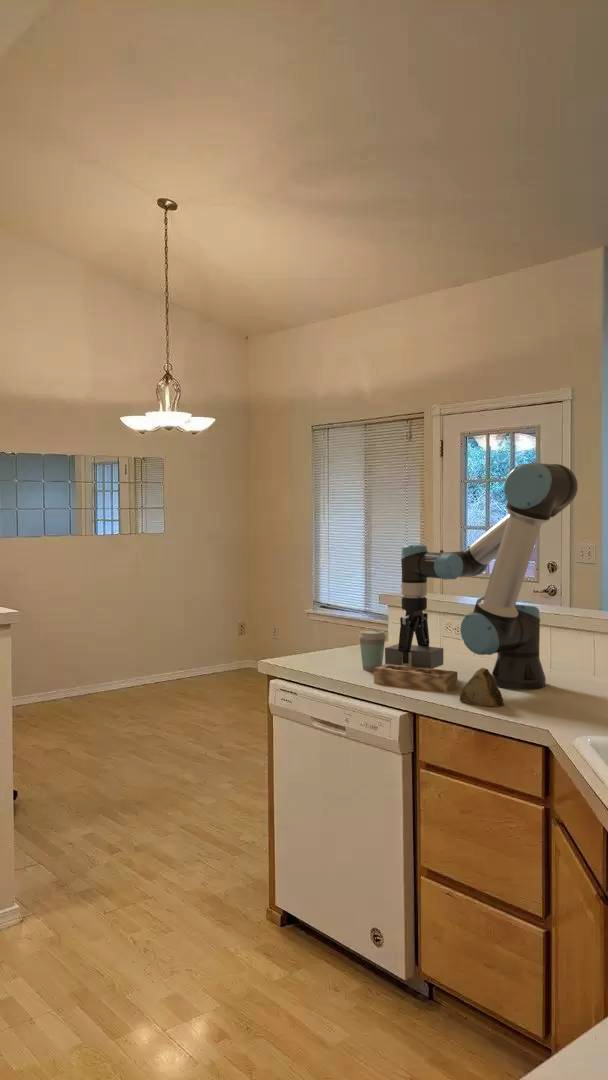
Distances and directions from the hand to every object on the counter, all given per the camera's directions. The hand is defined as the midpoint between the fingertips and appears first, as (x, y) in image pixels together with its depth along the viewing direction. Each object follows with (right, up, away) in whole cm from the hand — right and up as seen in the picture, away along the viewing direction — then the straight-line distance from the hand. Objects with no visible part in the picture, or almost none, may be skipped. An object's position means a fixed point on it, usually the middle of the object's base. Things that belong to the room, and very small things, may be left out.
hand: (414, 671), depth 256 cm
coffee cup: (-12, -1, +11) cm, 16 cm away
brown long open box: (-1, -2, -12) cm, 13 cm away
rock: (+13, -3, -35) cm, 37 cm away
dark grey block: (0, -1, 0) cm, 1 cm away
